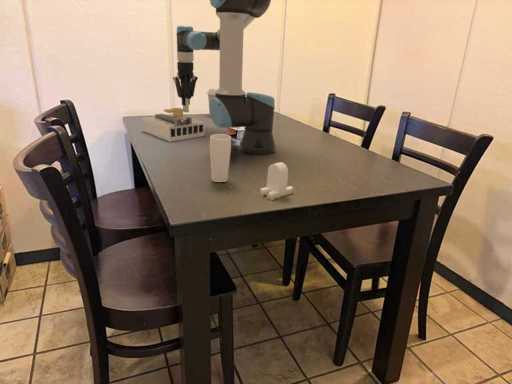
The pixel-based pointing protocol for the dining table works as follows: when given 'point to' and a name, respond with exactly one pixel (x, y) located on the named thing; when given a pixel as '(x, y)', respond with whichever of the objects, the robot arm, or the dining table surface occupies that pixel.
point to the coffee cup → (211, 95)
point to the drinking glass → (220, 156)
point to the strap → (171, 118)
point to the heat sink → (173, 128)
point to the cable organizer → (277, 180)
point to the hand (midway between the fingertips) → (185, 111)
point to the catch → (175, 111)
